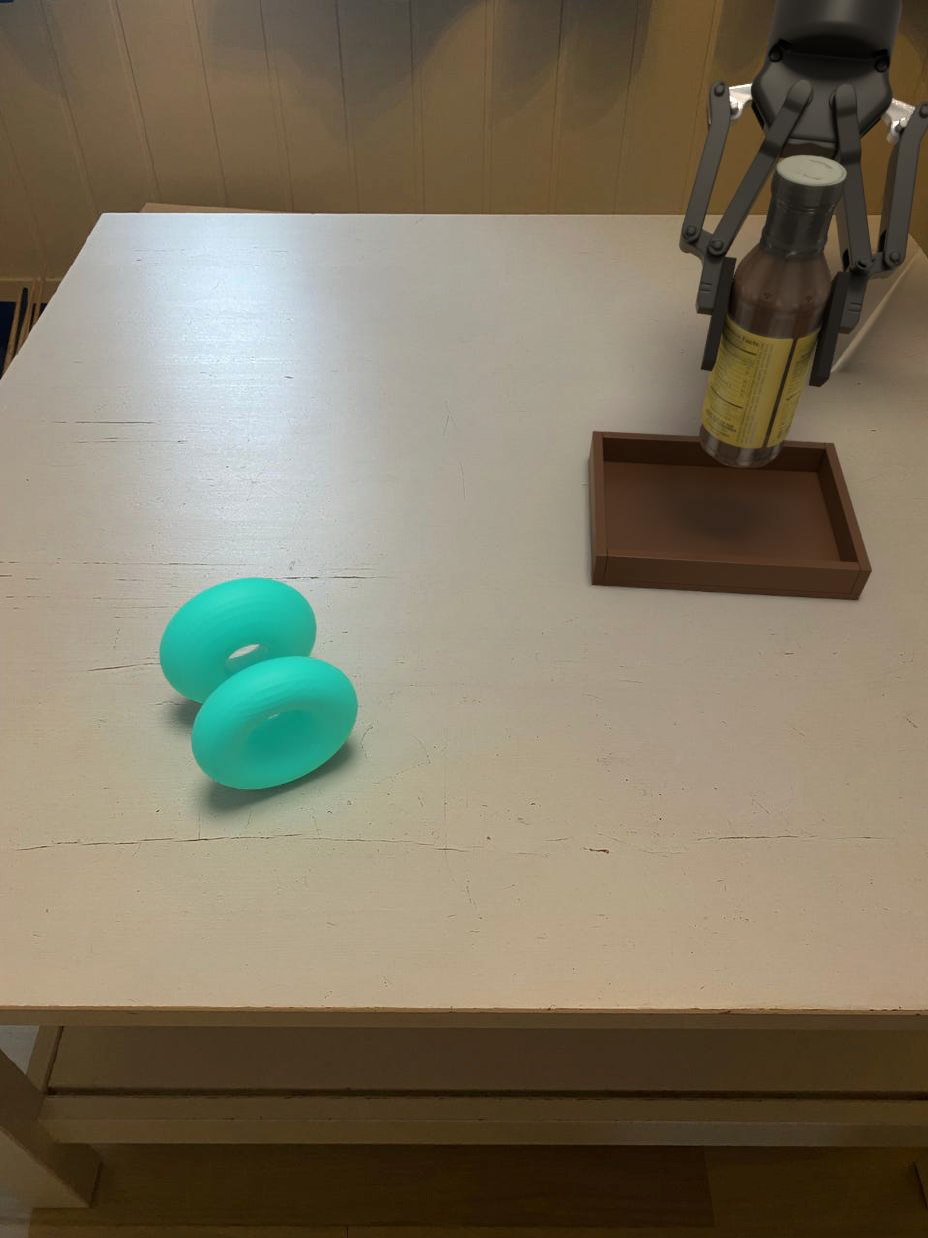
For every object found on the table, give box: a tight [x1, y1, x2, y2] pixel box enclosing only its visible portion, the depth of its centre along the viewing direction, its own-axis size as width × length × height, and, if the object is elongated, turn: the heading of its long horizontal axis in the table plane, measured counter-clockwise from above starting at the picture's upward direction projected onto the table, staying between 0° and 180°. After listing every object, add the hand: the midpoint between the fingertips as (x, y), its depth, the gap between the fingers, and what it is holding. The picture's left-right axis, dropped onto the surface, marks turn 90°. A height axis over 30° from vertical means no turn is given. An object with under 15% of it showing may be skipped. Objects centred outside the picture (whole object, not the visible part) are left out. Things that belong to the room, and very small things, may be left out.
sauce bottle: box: [698, 155, 847, 468], centre depth 61 cm, size 6×6×20 cm
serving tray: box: [588, 430, 873, 600], centre depth 74 cm, size 20×15×3 cm
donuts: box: [158, 576, 359, 790], centre depth 58 cm, size 10×10×10 cm
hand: (762, 373), depth 60 cm, fingers closed on sauce bottle, 6 cm apart
